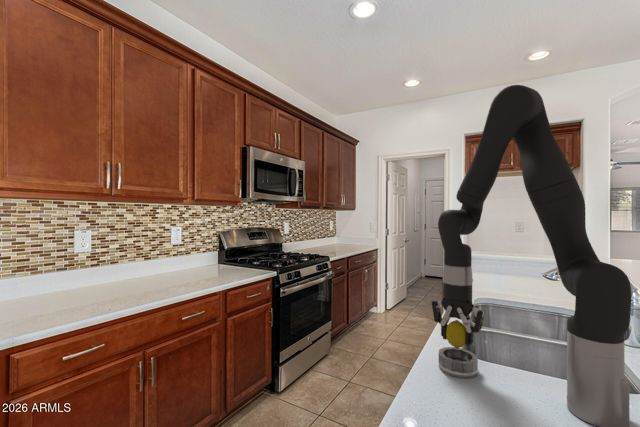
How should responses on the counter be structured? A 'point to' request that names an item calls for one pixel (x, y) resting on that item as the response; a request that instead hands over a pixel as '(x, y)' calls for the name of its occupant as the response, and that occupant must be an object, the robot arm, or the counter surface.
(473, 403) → the counter surface
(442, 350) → the holder
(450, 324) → the lemon
